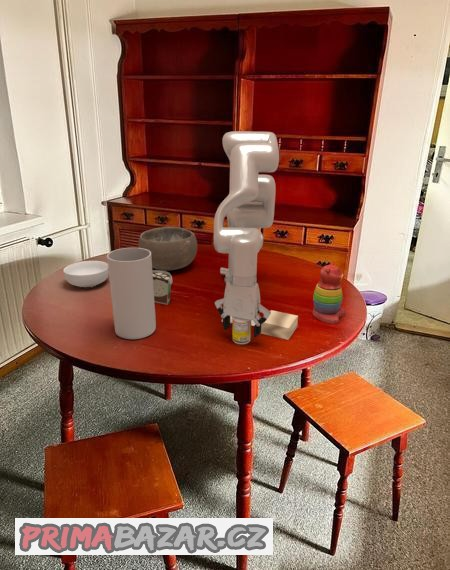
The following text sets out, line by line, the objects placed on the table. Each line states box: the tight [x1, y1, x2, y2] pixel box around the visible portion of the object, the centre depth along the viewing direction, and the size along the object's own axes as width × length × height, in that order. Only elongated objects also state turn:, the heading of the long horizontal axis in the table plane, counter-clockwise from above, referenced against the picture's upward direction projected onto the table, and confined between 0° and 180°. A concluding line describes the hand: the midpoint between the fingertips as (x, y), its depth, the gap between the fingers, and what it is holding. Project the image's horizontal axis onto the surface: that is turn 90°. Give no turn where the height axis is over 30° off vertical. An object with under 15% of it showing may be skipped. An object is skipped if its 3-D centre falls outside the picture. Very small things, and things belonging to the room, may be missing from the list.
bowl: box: [138, 226, 198, 272], centre depth 183 cm, size 24×24×15 cm
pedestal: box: [260, 309, 299, 341], centre depth 134 cm, size 9×9×4 cm
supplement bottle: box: [231, 317, 252, 345], centre depth 127 cm, size 6×6×10 cm
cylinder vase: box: [106, 247, 157, 340], centre depth 129 cm, size 12×12×25 cm
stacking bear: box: [311, 262, 346, 325], centre depth 141 cm, size 11×10×18 cm
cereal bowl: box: [62, 260, 109, 288], centre depth 167 cm, size 17×17×7 cm
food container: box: [152, 269, 173, 305], centre depth 154 cm, size 12×6×10 cm, turn 65°
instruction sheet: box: [221, 316, 255, 327], centre depth 142 cm, size 11×8×1 cm
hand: (241, 332), depth 128 cm, fingers open, 9 cm apart
